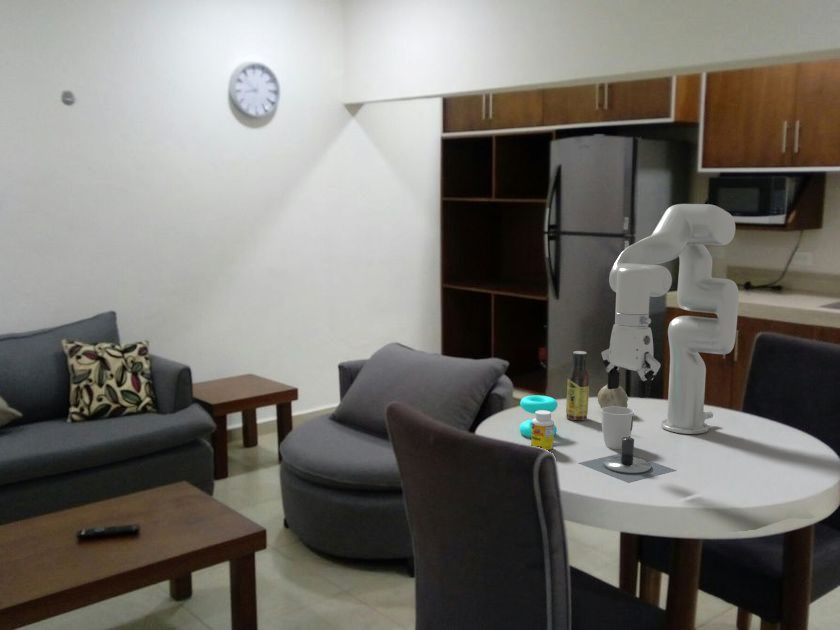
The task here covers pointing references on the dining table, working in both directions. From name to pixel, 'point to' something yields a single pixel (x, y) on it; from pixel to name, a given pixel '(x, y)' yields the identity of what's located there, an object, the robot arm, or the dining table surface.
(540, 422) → the supplement bottle
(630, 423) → the cup
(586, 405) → the sauce bottle
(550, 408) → the donuts
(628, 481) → the mat
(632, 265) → the robot arm
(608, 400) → the garlic bulb
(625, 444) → the lid
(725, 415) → the dining table surface
